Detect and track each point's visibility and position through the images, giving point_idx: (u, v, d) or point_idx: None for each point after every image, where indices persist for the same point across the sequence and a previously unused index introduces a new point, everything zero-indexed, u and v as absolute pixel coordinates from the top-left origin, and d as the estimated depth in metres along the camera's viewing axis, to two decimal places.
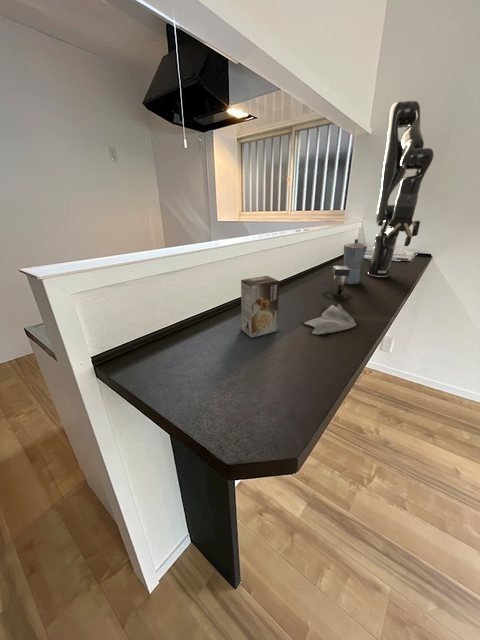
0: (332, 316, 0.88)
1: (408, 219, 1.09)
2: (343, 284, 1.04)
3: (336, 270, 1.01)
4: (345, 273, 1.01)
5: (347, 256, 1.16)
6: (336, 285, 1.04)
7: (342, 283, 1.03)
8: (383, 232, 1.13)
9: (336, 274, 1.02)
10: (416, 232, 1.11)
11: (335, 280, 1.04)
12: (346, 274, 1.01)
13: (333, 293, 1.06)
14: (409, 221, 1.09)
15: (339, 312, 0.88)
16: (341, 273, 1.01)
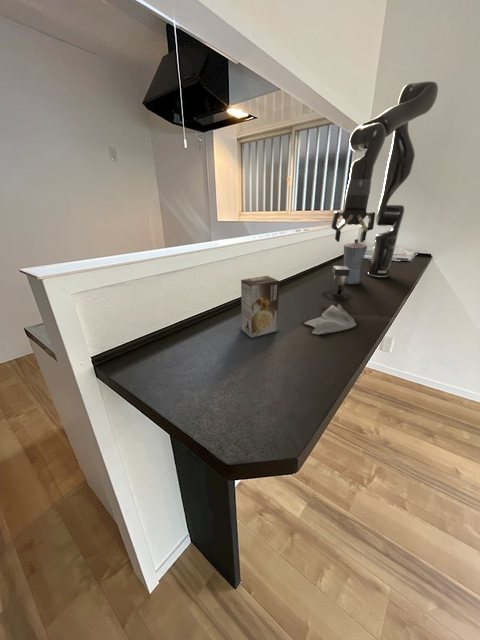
0: (332, 316, 0.88)
1: (361, 210, 0.93)
2: (343, 284, 1.04)
3: (336, 270, 1.01)
4: (345, 273, 1.01)
5: (347, 256, 1.16)
6: (336, 285, 1.04)
7: (342, 283, 1.03)
8: (334, 225, 0.96)
9: (336, 274, 1.02)
10: (371, 226, 0.95)
11: (335, 280, 1.04)
12: (346, 274, 1.01)
13: (333, 293, 1.06)
14: (363, 213, 0.93)
15: (339, 312, 0.88)
16: (341, 273, 1.01)
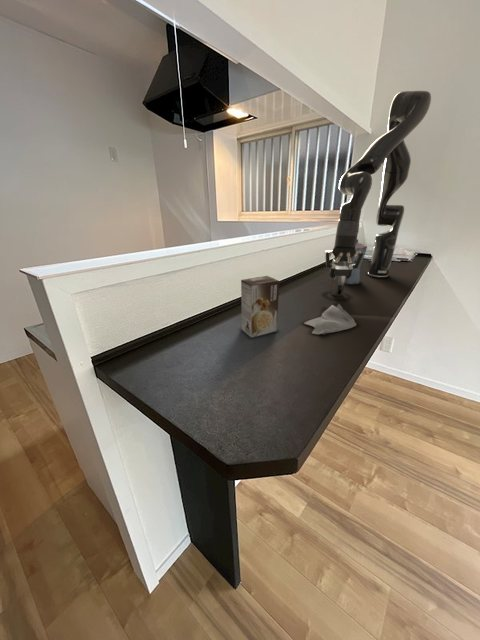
0: (332, 316, 0.88)
1: (351, 248, 0.98)
2: (343, 284, 1.04)
3: (336, 270, 1.01)
4: (345, 273, 1.01)
5: None
6: (336, 285, 1.04)
7: (342, 283, 1.03)
8: (328, 264, 1.02)
9: (336, 274, 1.02)
10: (357, 264, 1.00)
11: (335, 280, 1.04)
12: (346, 274, 1.01)
13: (333, 293, 1.06)
14: (352, 251, 0.98)
15: (339, 312, 0.88)
16: (341, 273, 1.01)
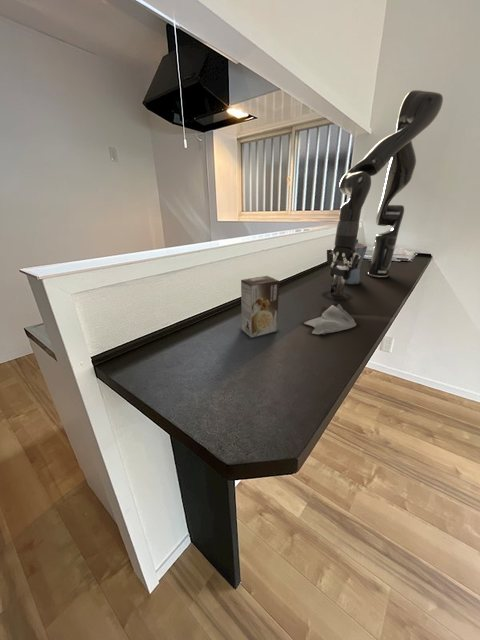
0: (332, 316, 0.88)
1: (347, 249, 0.97)
2: (339, 284, 1.03)
3: (332, 269, 1.03)
4: (340, 273, 1.01)
5: None
6: (333, 284, 1.05)
7: (338, 283, 1.03)
8: (328, 261, 1.05)
9: (332, 273, 1.03)
10: (352, 266, 0.97)
11: (333, 279, 1.05)
12: (340, 274, 1.01)
13: (331, 292, 1.07)
14: (349, 251, 0.97)
15: (339, 312, 0.88)
16: (336, 272, 1.02)
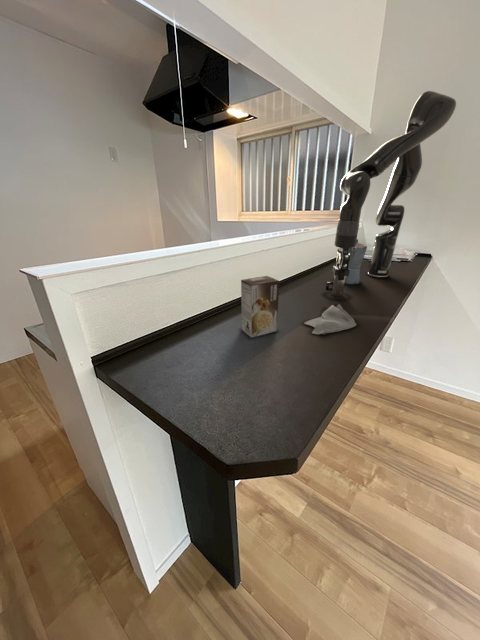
0: (332, 316, 0.88)
1: (342, 248, 0.98)
2: (334, 283, 1.04)
3: (333, 267, 1.05)
4: (334, 272, 1.03)
5: None
6: None
7: (333, 282, 1.05)
8: (336, 260, 1.07)
9: (332, 271, 1.06)
10: (341, 266, 0.97)
11: None
12: (334, 273, 1.02)
13: None
14: (342, 251, 0.98)
15: (339, 312, 0.88)
16: (333, 271, 1.04)
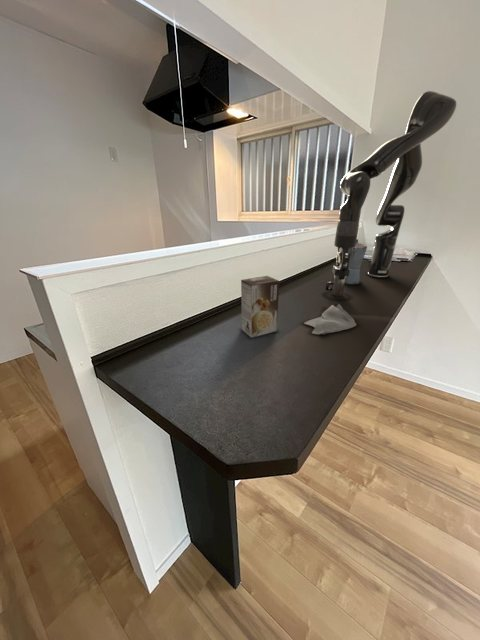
0: (332, 316, 0.88)
1: (341, 249, 0.98)
2: (334, 283, 1.04)
3: (333, 267, 1.05)
4: (334, 272, 1.03)
5: None
6: None
7: (333, 282, 1.05)
8: None
9: (332, 271, 1.06)
10: (341, 265, 0.96)
11: None
12: (334, 273, 1.02)
13: None
14: (342, 251, 0.98)
15: (339, 312, 0.88)
16: (333, 271, 1.04)
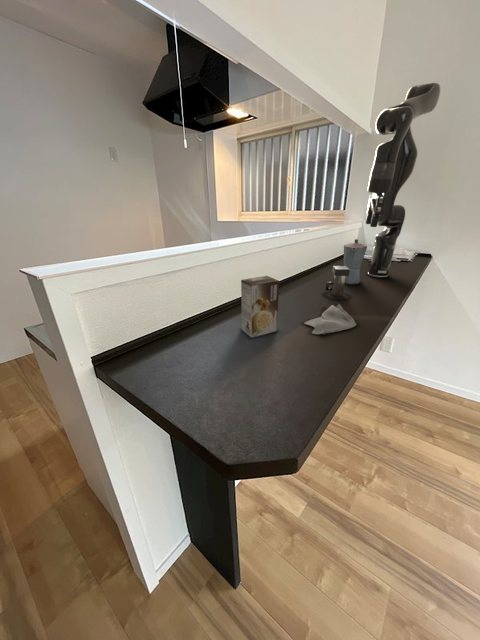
0: (332, 316, 0.88)
1: (375, 194, 0.95)
2: (334, 283, 1.04)
3: (333, 267, 1.05)
4: (334, 272, 1.03)
5: (347, 256, 1.16)
6: None
7: (333, 282, 1.05)
8: (367, 208, 1.05)
9: (332, 271, 1.06)
10: (374, 210, 0.94)
11: None
12: (334, 273, 1.02)
13: None
14: (375, 197, 0.95)
15: (339, 312, 0.88)
16: (333, 271, 1.04)
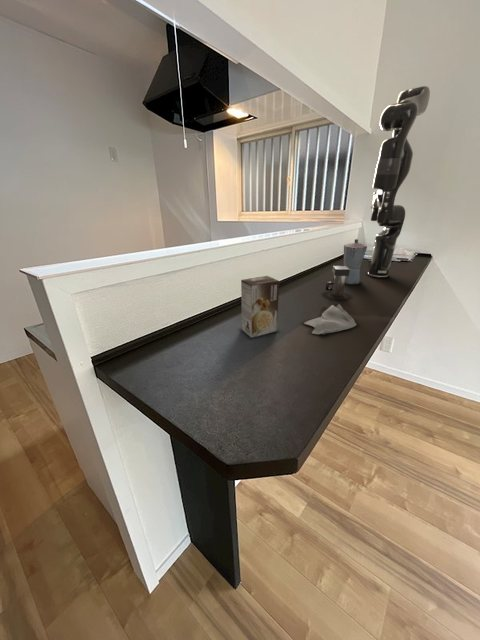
0: (332, 316, 0.88)
1: (381, 190, 0.95)
2: (334, 283, 1.04)
3: (333, 267, 1.05)
4: (334, 272, 1.03)
5: (347, 256, 1.16)
6: None
7: (333, 282, 1.05)
8: None
9: (332, 271, 1.06)
10: (381, 206, 0.93)
11: None
12: (334, 273, 1.02)
13: None
14: (381, 192, 0.95)
15: (339, 312, 0.88)
16: (333, 271, 1.04)
